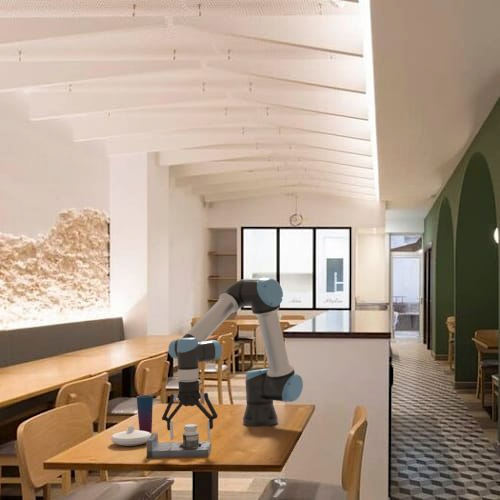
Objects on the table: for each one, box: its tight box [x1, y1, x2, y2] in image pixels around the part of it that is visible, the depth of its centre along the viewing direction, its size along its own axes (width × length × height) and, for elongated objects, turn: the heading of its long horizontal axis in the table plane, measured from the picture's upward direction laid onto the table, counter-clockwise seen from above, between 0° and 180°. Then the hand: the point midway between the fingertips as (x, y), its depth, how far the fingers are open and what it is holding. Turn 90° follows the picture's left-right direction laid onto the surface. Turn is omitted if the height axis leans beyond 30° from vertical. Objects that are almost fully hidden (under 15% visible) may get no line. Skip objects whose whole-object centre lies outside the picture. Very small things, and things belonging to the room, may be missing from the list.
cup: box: [136, 394, 154, 434], centre depth 302 cm, size 7×7×15 cm
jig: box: [145, 432, 212, 459], centre depth 264 cm, size 22×13×6 cm, turn 89°
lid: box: [110, 424, 152, 447], centre depth 281 cm, size 16×16×7 cm
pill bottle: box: [182, 423, 200, 449], centre depth 264 cm, size 6×6×10 cm
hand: (190, 438), depth 264 cm, fingers open, 13 cm apart
